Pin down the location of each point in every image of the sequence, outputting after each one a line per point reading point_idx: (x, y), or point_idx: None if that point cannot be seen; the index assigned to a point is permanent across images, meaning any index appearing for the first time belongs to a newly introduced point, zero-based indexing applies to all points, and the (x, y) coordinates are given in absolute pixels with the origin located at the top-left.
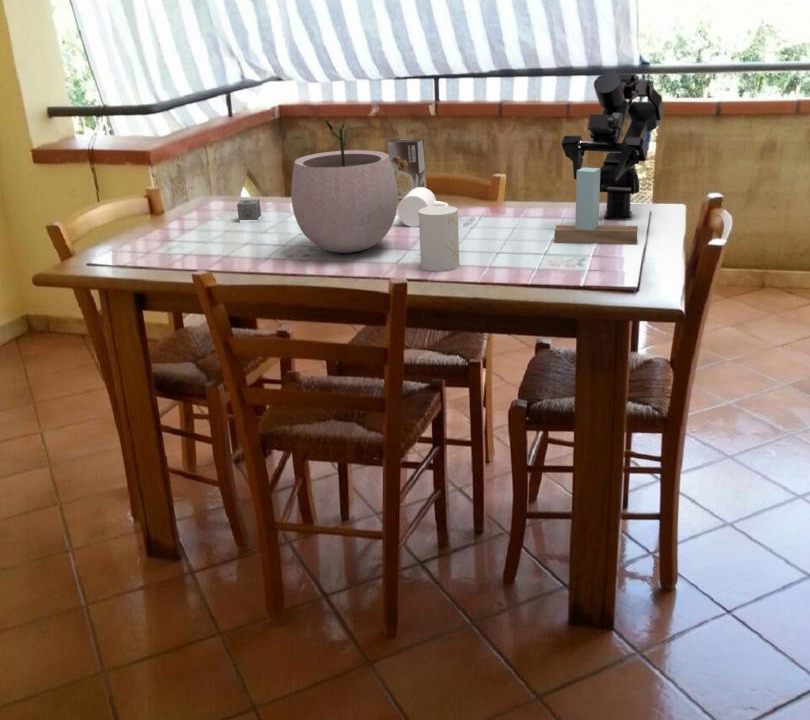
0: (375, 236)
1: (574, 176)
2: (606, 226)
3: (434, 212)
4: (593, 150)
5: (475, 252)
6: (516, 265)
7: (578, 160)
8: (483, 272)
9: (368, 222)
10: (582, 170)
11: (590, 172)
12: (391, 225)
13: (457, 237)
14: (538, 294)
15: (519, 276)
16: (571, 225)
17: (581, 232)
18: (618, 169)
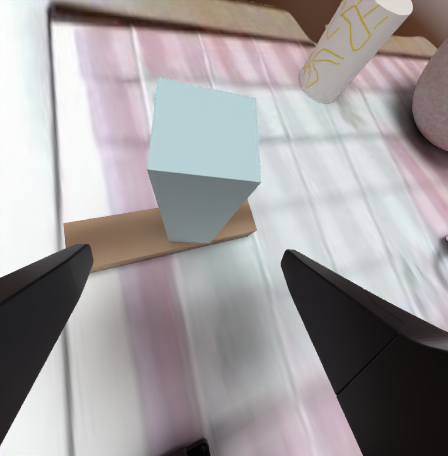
0: (418, 86)
1: (291, 250)
2: (150, 245)
3: None
4: None
5: (314, 137)
6: (242, 93)
7: (360, 326)
8: (265, 68)
9: (440, 48)
10: (232, 107)
11: (181, 86)
12: (433, 106)
13: (325, 40)
14: (175, 6)
15: (220, 56)
16: (227, 232)
17: None
18: (25, 272)
